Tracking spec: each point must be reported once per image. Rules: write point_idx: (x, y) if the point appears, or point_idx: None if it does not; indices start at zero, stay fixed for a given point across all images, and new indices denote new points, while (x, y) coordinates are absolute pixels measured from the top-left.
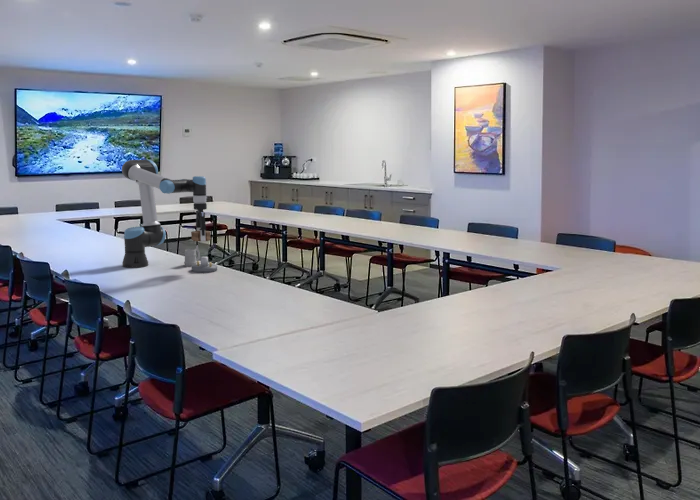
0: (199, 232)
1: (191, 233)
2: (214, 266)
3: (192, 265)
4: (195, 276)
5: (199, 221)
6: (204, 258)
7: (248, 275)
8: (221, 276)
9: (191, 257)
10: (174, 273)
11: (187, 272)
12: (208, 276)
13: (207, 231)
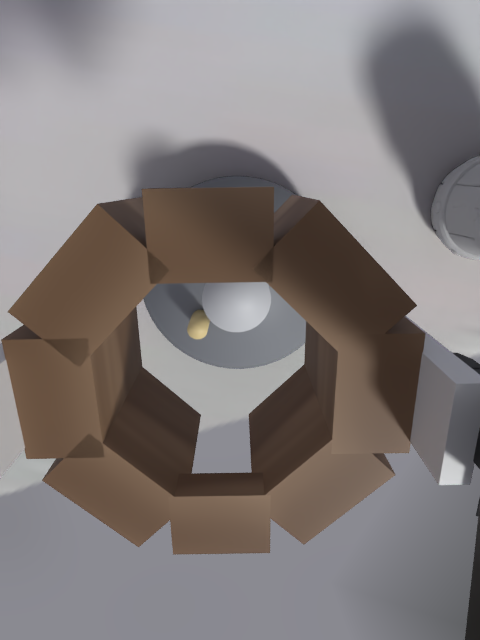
0: (329, 377)
1: (231, 187)
2: (204, 346)
3: (433, 215)
4: (27, 168)
5: (475, 613)
6: (203, 294)
7: (10, 481)
8: (2, 338)
9: (469, 215)
10: (181, 11)
11: (194, 133)
12: (14, 259)
13: (217, 515)
